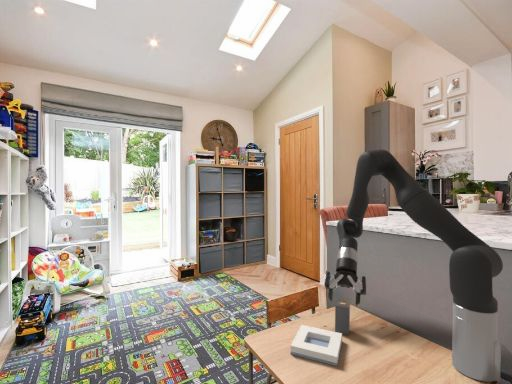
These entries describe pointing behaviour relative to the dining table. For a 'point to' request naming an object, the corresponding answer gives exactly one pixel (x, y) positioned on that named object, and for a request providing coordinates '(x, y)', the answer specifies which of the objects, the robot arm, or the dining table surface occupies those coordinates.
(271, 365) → the dining table surface
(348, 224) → the robot arm
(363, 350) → the dining table surface
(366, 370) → the dining table surface
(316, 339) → the dock
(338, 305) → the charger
